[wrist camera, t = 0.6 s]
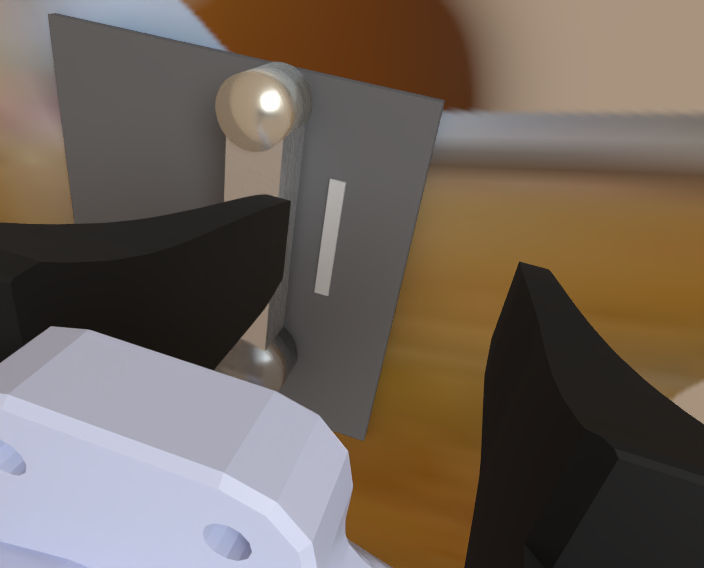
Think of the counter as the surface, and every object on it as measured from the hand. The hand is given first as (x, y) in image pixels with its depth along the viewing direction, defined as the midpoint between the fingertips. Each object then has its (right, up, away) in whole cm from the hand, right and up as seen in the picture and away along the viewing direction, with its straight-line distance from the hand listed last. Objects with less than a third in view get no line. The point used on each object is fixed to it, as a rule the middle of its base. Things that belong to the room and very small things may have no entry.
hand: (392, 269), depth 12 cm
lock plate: (-6, +1, +11) cm, 13 cm away
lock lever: (-4, +1, +10) cm, 11 cm away
